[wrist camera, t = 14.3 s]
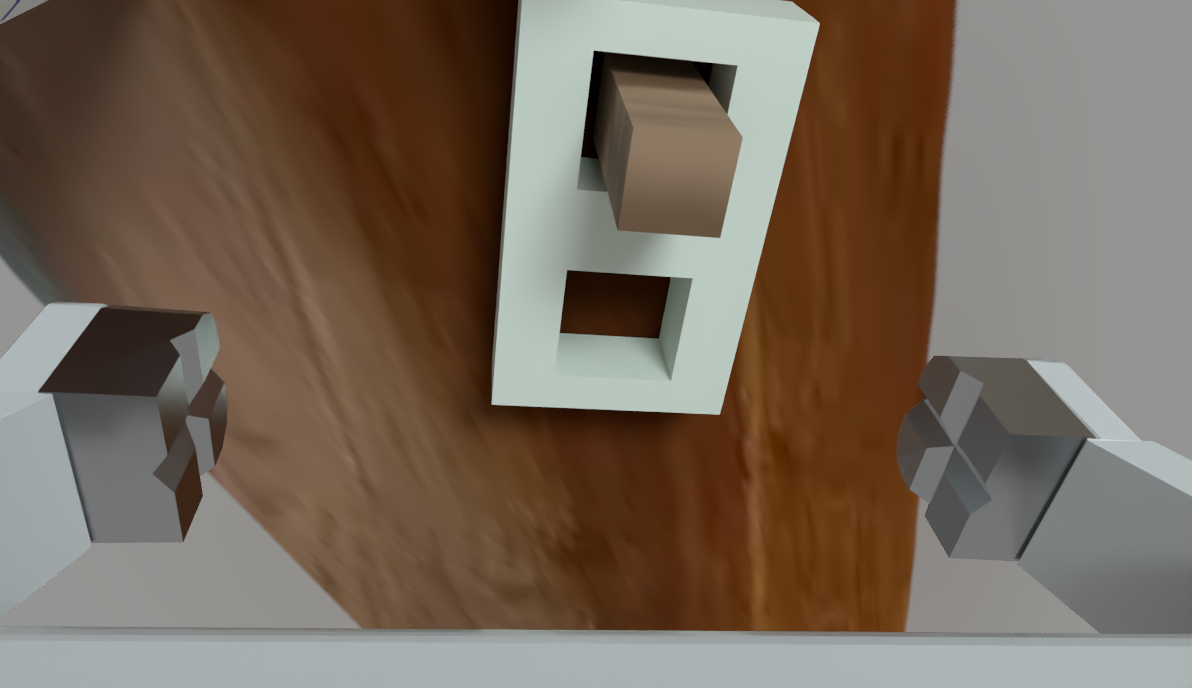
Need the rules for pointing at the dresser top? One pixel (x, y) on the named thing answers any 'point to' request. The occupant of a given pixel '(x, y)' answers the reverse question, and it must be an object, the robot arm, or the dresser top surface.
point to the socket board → (585, 218)
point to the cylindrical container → (16, 8)
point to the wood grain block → (664, 146)
